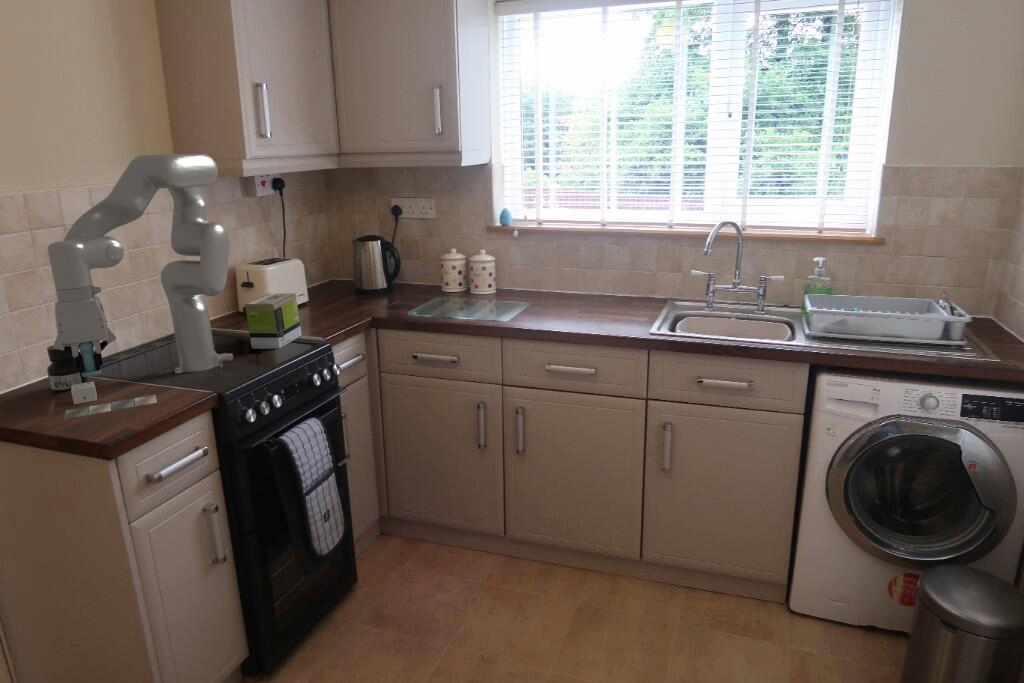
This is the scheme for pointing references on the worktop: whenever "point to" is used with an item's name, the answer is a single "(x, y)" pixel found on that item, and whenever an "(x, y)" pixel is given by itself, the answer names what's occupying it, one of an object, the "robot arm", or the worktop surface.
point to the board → (107, 407)
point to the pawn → (88, 359)
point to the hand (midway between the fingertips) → (90, 369)
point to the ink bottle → (63, 371)
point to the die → (83, 392)
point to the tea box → (273, 320)
